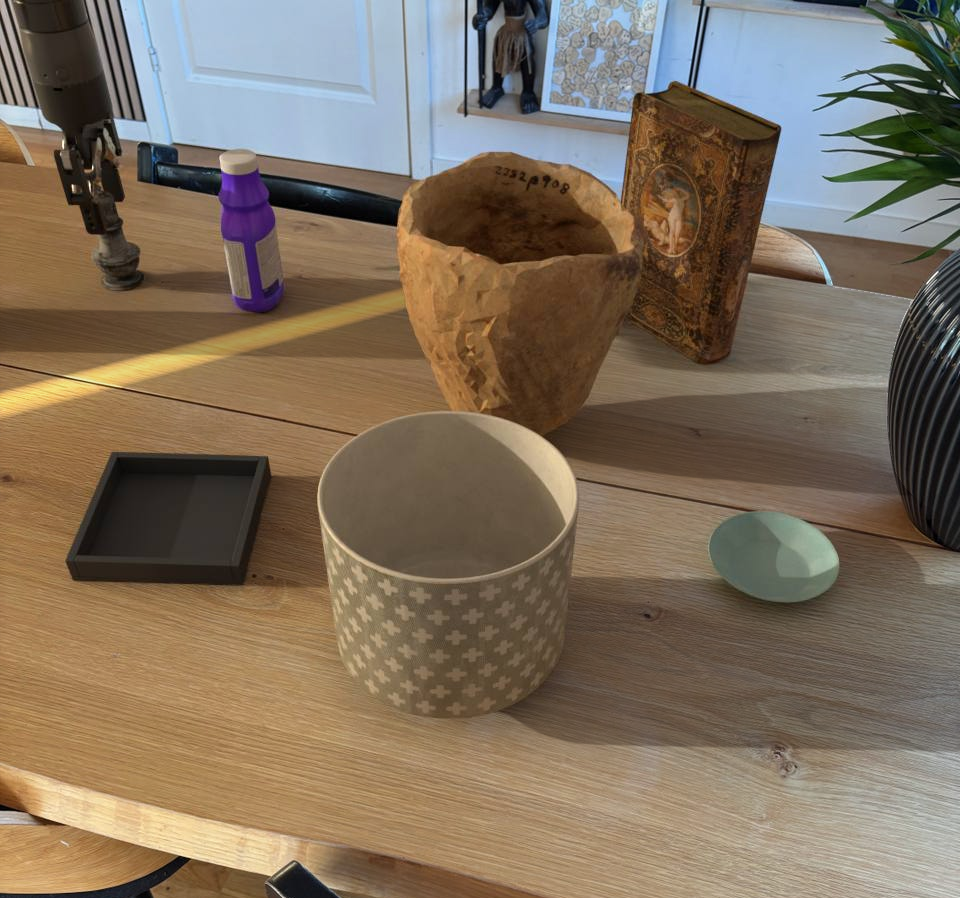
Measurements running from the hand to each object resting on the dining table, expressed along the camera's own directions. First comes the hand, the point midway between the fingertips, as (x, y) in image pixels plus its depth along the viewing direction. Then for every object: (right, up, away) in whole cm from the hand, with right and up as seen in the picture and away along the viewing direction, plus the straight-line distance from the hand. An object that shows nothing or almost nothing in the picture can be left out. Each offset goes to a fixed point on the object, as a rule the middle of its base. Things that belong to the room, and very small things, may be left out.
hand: (107, 216), depth 121 cm
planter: (+42, -52, -34) cm, 75 cm away
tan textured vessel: (+48, -29, -13) cm, 57 cm away
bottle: (+18, -9, +3) cm, 20 cm away
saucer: (+71, -44, -27) cm, 88 cm away
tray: (+16, -40, -24) cm, 49 cm away
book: (+68, -14, 0) cm, 69 cm away
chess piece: (0, -6, +6) cm, 8 cm away
